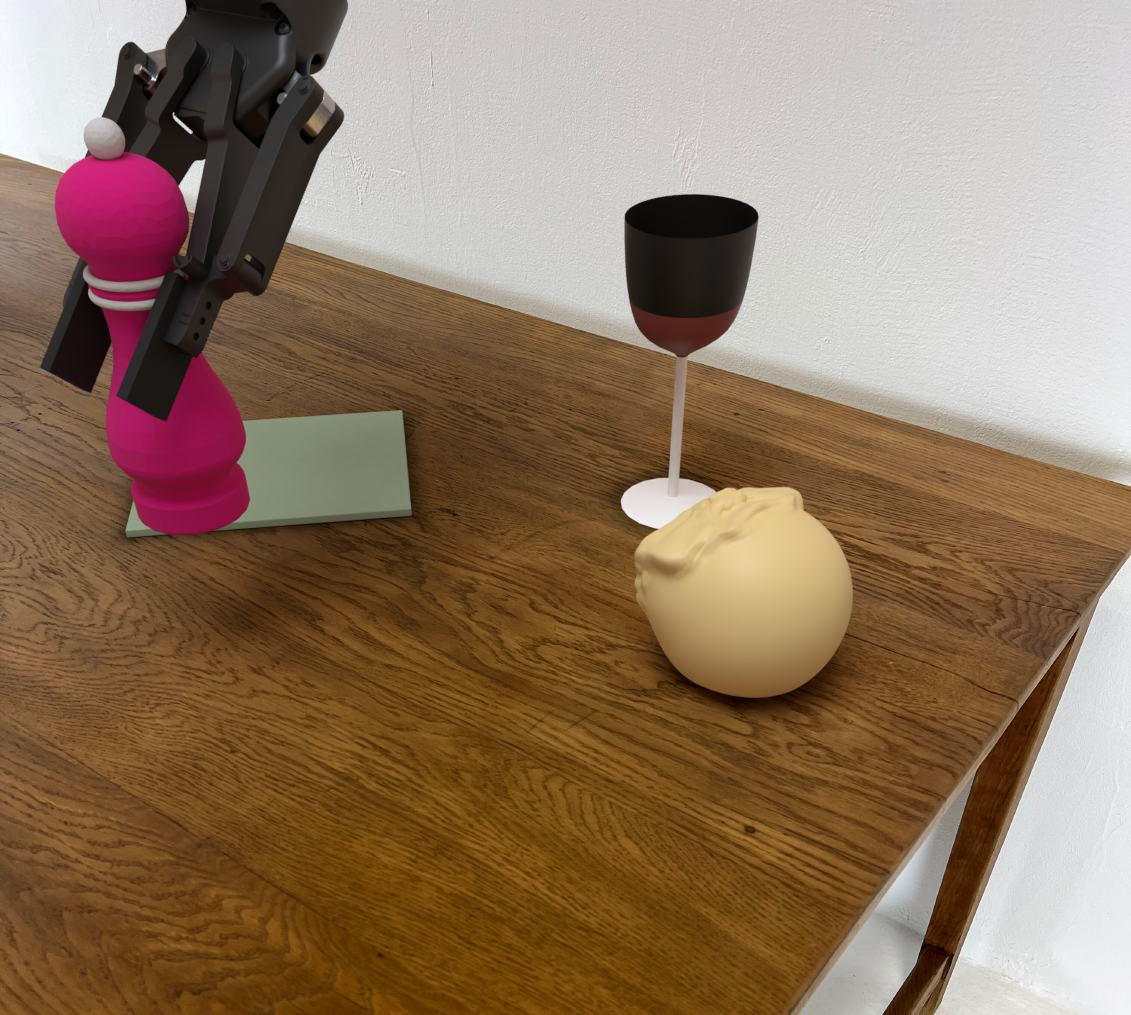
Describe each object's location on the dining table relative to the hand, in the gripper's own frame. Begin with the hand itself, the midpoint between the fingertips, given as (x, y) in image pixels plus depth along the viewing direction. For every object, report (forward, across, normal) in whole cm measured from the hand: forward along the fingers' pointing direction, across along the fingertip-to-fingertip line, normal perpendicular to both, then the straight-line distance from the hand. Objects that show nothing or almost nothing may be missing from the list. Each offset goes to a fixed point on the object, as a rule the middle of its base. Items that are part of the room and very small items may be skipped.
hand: (103, 393), depth 57 cm
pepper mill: (+3, 0, -9) cm, 9 cm away
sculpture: (-1, -28, -26) cm, 38 cm away
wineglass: (-11, -15, -36) cm, 41 cm away
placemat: (-2, +13, -27) cm, 30 cm away
